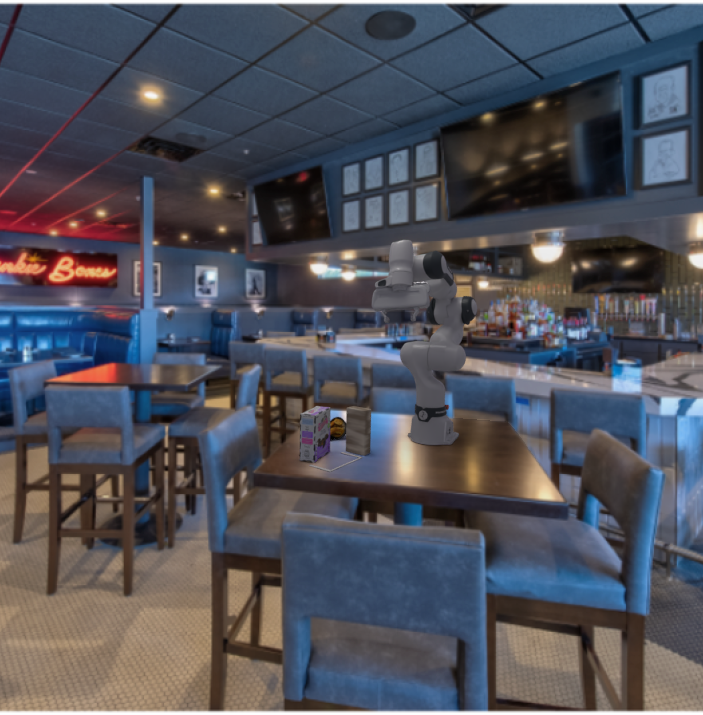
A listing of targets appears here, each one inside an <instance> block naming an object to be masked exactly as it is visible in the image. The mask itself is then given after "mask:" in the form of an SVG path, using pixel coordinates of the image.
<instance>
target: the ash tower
mask: <svg viewBox="0 0 703 715" xmlns="http://www.w3.org/2000/svg"><path fill="white" fill-rule="evenodd" d="M345 415H346V418H345V419H346V420H345V422H346V435H345V452H346V453H350V454H354V455H358V456H359V455H360V456H362V457H363V456H364V457H365V456H367V455H369V454H371V442H372V441H371V439H372V427H371V426H372V409H371V408H366V407H361V406H360V407H359V406H356V405H353V406H349V407H346V414H345Z"/></svg>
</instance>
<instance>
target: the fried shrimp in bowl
mask: <svg viewBox="0 0 703 715" xmlns="http://www.w3.org/2000/svg"><path fill="white" fill-rule="evenodd" d="M344 437H346V420H344V419H343V418H342V417H341V416H335V417H333V418H331V419H330V442H332V441H334V440H335V439H336V440H337V441H338V440H340V439H342V438H344Z"/></svg>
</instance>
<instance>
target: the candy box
mask: <svg viewBox="0 0 703 715" xmlns="http://www.w3.org/2000/svg"><path fill="white" fill-rule="evenodd" d="M331 410H332V409H331V407H329V406H319V405H316V406H314V407H313V408H310V409H307V410H305V411H304V412H300V413H299V461H301V462H302V461H303V462H308V463H316V462H317V461H319V460H320V459H321V458H323V457H324V456H326V455H327V454H328V453H329V452H331V441H330V421H331Z"/></svg>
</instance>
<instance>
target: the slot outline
mask: <svg viewBox="0 0 703 715" xmlns="http://www.w3.org/2000/svg"><path fill="white" fill-rule="evenodd" d="M340 453H341V454H343V455H347V456H349V457H355V458H356V459H354V460H351V461H348V462H345V463H344V464H341V465H340V466H337V467H334V468H333V469H329V468H325V467H321V466H317V465H313V464H308V466H309V467H312V468H315V469H318V470H322V471H325V472H329V473H331V472H333V471H335V470H338V469H340V468H342V467H345V466H347V465H349V464H352V463H354V462H356V461H359V460H361V459H363V458H364V457H363V456H361V455H360V456H359V455H357V454H353V453H349V452H343V451H342V452H340Z"/></svg>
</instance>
